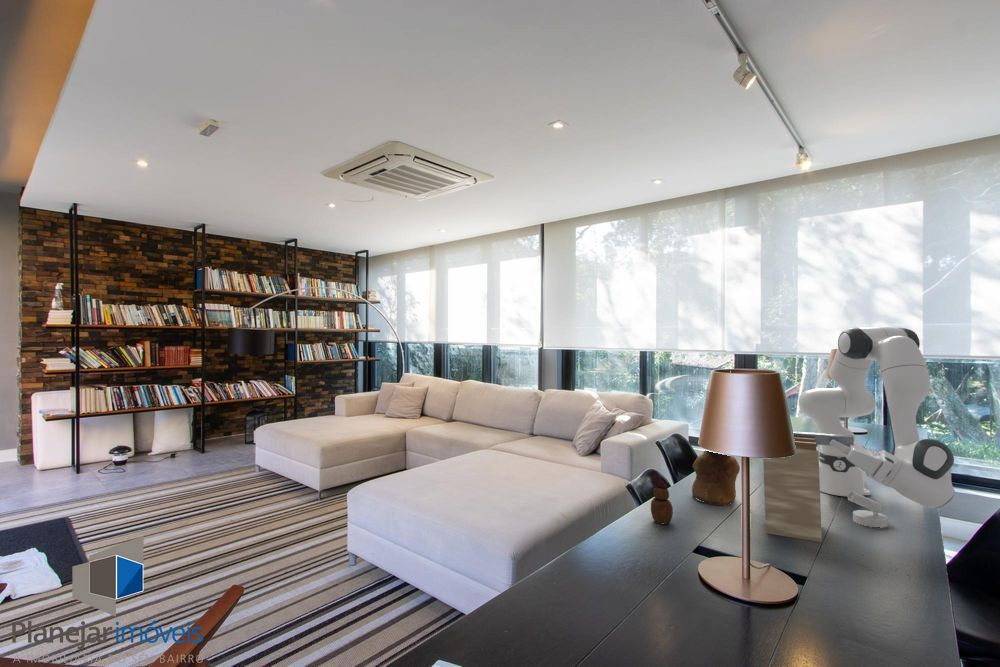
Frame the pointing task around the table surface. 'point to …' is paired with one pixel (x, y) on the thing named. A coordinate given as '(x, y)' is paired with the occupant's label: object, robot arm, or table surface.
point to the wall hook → (868, 512)
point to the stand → (794, 493)
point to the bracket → (826, 438)
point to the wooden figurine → (661, 503)
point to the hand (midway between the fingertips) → (829, 438)
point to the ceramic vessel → (715, 478)
